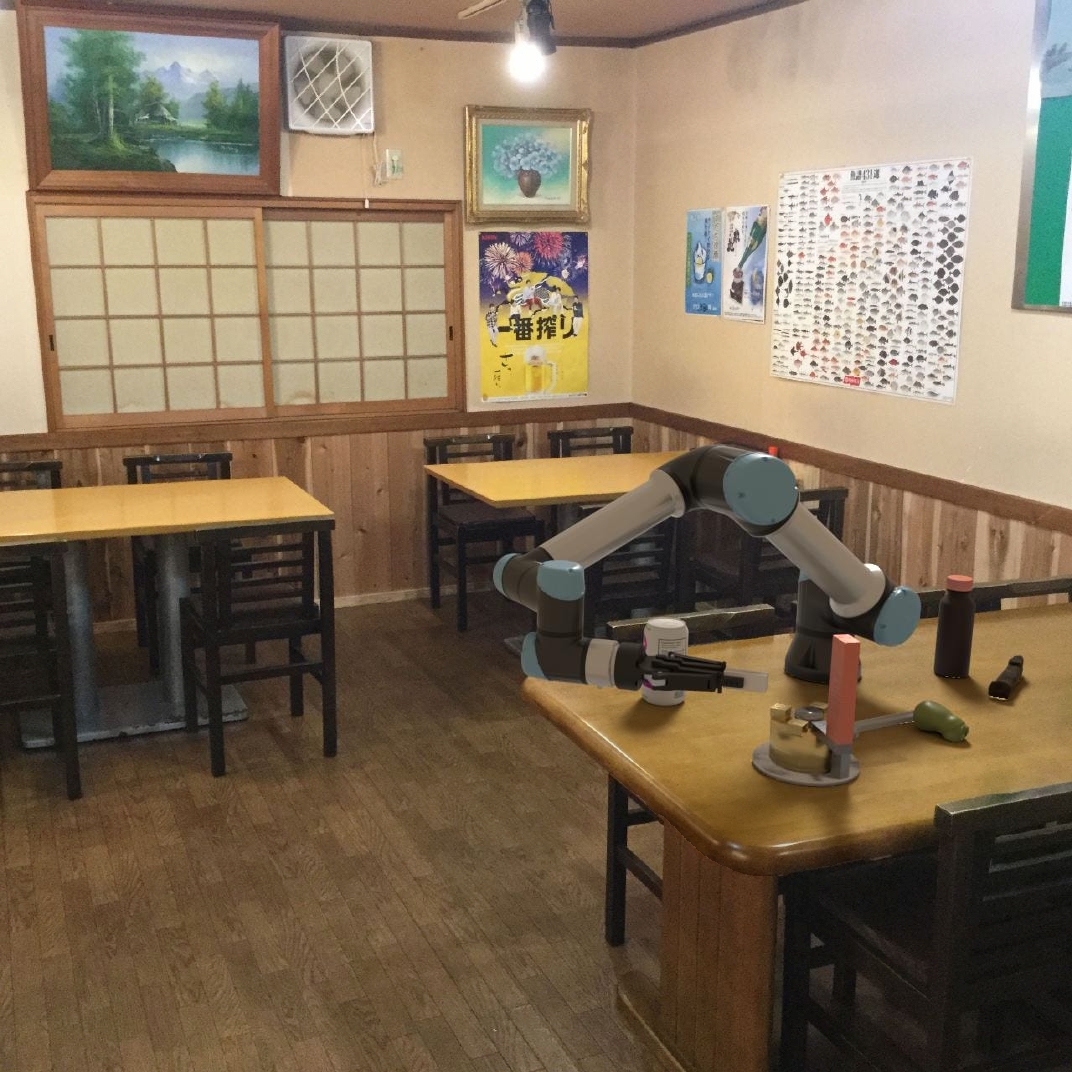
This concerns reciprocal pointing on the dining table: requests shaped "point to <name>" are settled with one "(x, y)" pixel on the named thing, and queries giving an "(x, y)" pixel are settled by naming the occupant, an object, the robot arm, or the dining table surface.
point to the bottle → (955, 628)
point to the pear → (939, 721)
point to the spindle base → (841, 772)
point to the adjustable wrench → (881, 722)
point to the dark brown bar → (1007, 678)
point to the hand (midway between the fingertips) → (766, 682)
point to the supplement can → (661, 640)
